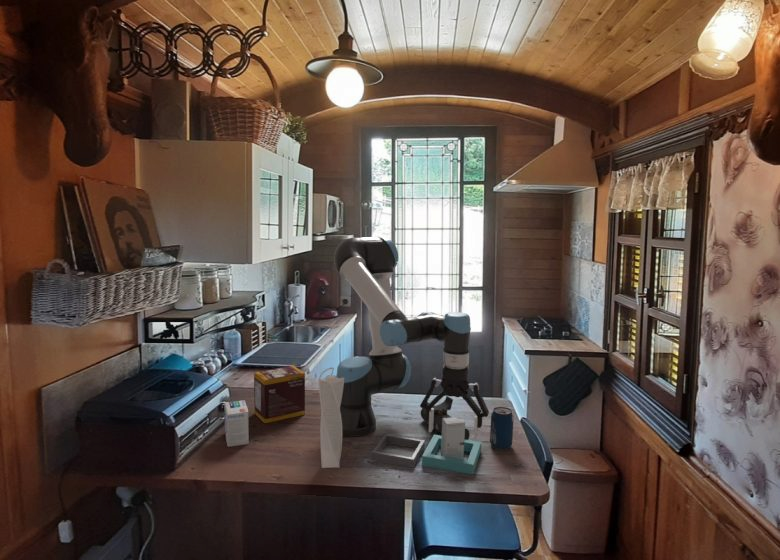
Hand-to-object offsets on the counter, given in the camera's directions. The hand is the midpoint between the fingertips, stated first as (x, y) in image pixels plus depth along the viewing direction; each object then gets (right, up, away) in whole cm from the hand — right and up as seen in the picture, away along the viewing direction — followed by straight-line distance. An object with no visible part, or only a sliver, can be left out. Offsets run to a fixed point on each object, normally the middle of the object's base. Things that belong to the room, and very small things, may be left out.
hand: (453, 433), depth 156 cm
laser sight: (-1, -5, +20) cm, 20 cm away
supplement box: (-58, -2, +31) cm, 66 cm away
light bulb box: (-68, -5, +12) cm, 69 cm away
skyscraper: (-36, -8, -3) cm, 37 cm away
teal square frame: (0, -8, +1) cm, 8 cm away
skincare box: (0, -8, +1) cm, 8 cm away
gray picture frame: (-16, -7, +3) cm, 18 cm away
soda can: (+16, -7, +9) cm, 20 cm away
